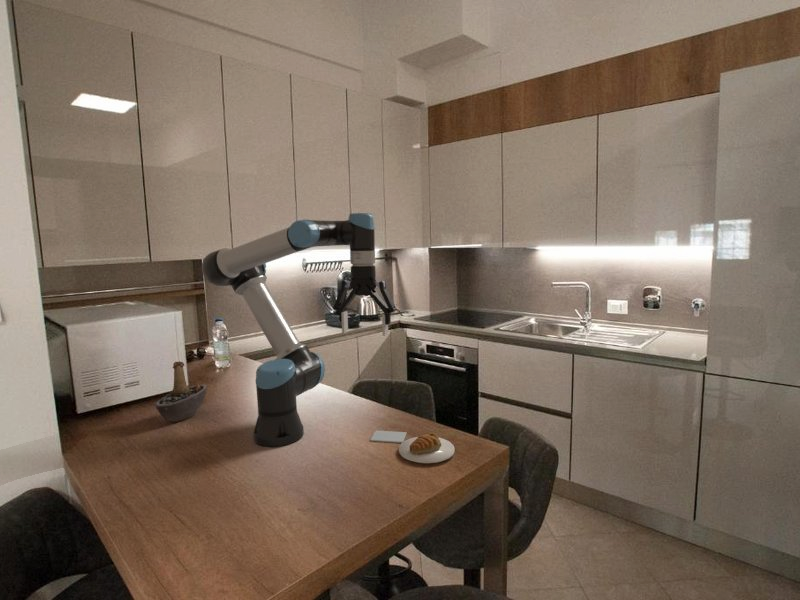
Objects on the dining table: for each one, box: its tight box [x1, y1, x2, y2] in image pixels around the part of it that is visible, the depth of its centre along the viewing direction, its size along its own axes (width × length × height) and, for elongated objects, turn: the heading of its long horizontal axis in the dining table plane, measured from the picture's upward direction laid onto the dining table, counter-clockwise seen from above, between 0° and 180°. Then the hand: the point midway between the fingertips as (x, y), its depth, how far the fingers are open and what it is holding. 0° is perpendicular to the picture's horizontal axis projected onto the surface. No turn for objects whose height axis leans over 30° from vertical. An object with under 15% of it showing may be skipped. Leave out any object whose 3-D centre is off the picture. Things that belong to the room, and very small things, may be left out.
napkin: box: [370, 430, 408, 444], centre depth 147 cm, size 10×7×1 cm
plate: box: [398, 436, 455, 464], centre depth 136 cm, size 16×16×1 cm
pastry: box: [410, 432, 441, 455], centre depth 135 cm, size 9×7×4 cm
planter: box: [155, 360, 207, 423], centre depth 164 cm, size 15×17×20 cm
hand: (364, 333), depth 147 cm, fingers open, 13 cm apart
